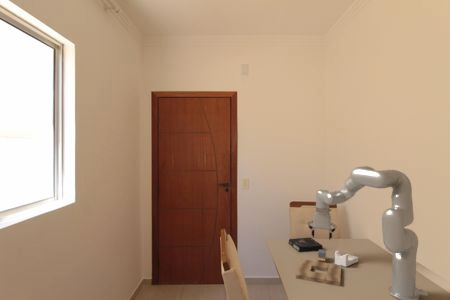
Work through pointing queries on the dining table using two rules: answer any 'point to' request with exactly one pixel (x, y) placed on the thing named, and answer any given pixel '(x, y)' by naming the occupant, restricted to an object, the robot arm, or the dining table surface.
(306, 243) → the portable cd player
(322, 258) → the block
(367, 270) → the dining table surface
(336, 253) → the bracket
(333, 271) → the plate
